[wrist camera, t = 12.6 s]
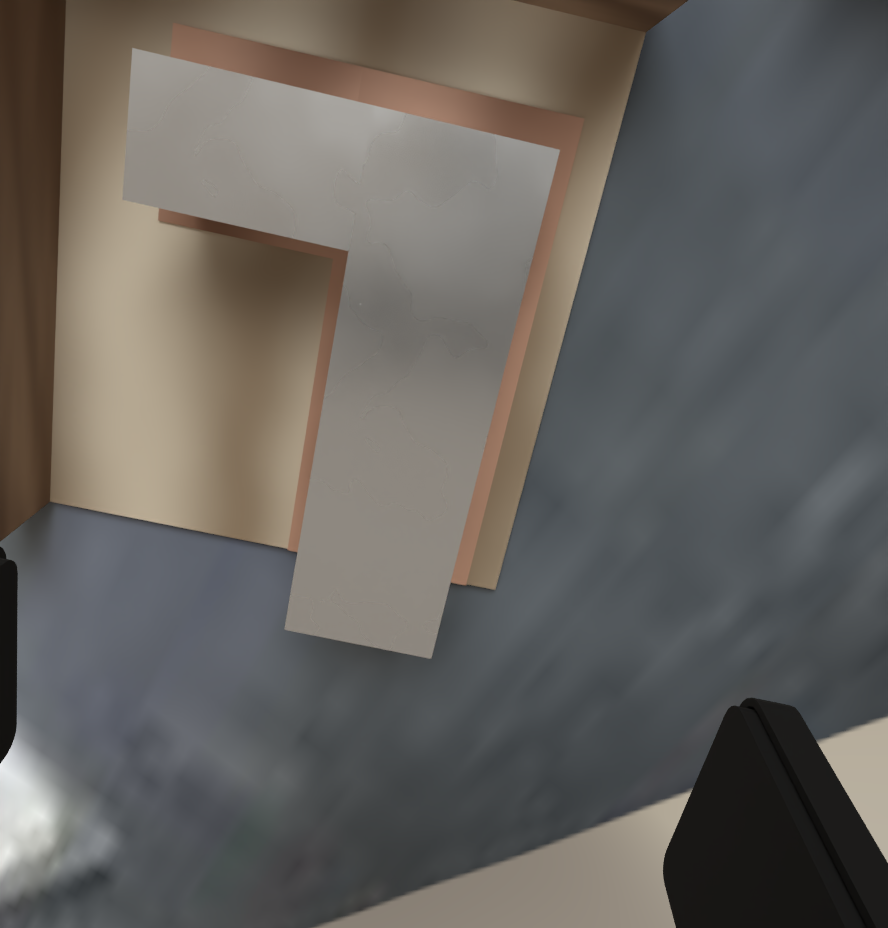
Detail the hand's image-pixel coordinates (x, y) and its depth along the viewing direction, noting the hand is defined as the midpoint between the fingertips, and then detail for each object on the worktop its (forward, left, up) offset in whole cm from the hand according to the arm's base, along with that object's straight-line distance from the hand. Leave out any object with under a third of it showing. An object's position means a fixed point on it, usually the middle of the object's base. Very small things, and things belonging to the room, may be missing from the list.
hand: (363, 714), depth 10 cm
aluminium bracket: (+3, -1, -14) cm, 15 cm away
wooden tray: (+4, -3, -15) cm, 16 cm away
